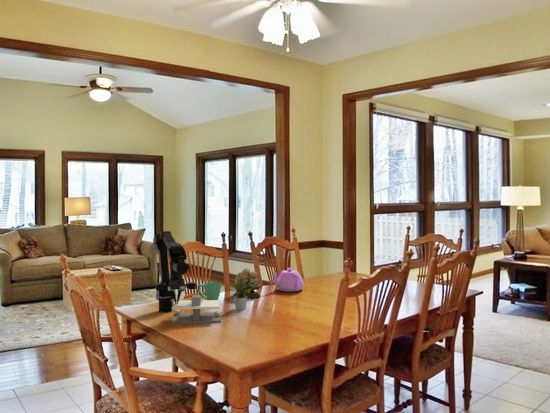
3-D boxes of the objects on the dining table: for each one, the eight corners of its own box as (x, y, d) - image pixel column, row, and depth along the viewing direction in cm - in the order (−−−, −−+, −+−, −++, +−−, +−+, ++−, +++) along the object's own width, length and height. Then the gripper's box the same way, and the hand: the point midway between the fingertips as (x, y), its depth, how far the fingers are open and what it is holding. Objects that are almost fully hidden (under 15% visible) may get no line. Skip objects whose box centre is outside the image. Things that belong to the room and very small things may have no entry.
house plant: (250, 313, 241) (250, 281, 241) (224, 312, 244) (223, 280, 244) (257, 306, 255) (256, 276, 255) (232, 305, 258) (231, 275, 258)
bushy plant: (265, 296, 282) (265, 267, 282) (256, 300, 272) (255, 270, 271) (239, 293, 290) (238, 265, 290) (228, 297, 280) (228, 268, 279)
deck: (171, 309, 223) (172, 298, 223) (174, 302, 237) (174, 292, 237) (219, 308, 226) (219, 298, 225) (219, 302, 239) (219, 292, 239)
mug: (224, 300, 270) (224, 283, 270) (215, 304, 261) (215, 286, 261) (203, 298, 276) (202, 281, 276) (193, 302, 267) (192, 284, 267)
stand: (170, 324, 222) (170, 312, 222) (174, 315, 238) (174, 304, 238) (220, 322, 225) (220, 310, 225) (220, 313, 241) (220, 302, 241)
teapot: (263, 289, 301) (262, 267, 301) (292, 285, 312) (292, 264, 311) (279, 295, 282) (279, 272, 282) (311, 291, 292) (310, 269, 292)
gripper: (153, 274, 221) (154, 308, 221) (194, 273, 223) (195, 307, 223) (157, 271, 232) (157, 303, 232) (196, 270, 234) (196, 301, 234)
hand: (176, 303), depth 230 cm, fingers closed, pressing on deck
